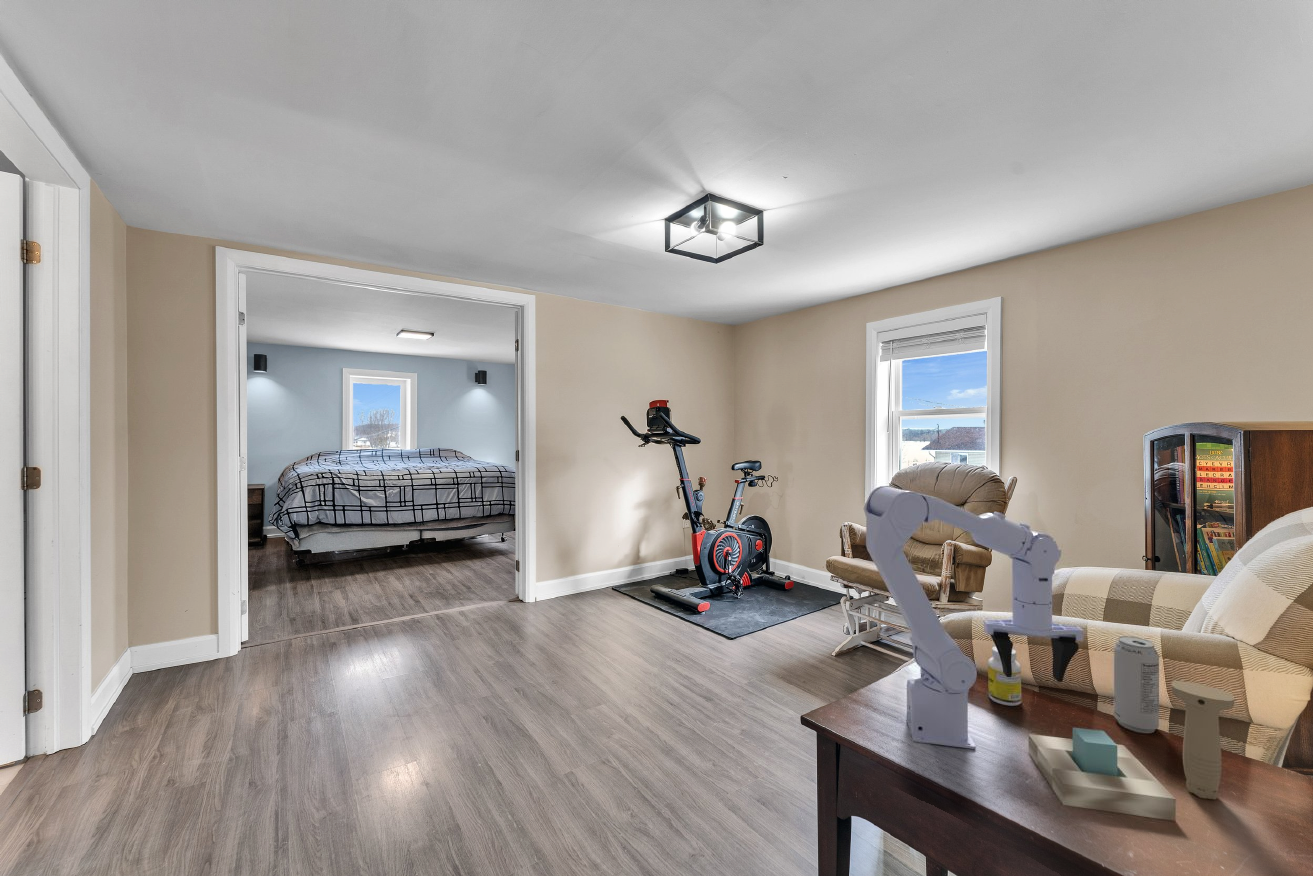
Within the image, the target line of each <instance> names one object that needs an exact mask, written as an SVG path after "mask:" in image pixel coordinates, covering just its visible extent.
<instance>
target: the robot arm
mask: <svg viewBox="0 0 1313 876" xmlns="http://www.w3.org/2000/svg"><path fill="white" fill-rule="evenodd" d="M863 511H864V514H865V517H866V518H865V519H866V521H865V522H866V523H865V524H866V525H865V527H866V528H865V531H866V532H865V546H866V549H867V552H868V553H869V556H870V558H871V559H872V561H873V563H874V565H875V567H876V569H877V571H878V573H879V574H880V577H881V578H882V580H883V582H884V584H885V586H886V588H887V590H888V591H889V594H890V595H891V597H892V600H893V602H894V603H895V604H896V607H897V608H898V611H899V612H900V615H901V616H902V619H903V620H904V623H905V624H906V625H907V628H908V629H909V631H910V633H911V635H910V637H909V641H910V642H911V644H912V651H913V660H914V661H915V663H916V664H917V665H918V666H919V667H920V668H919V669H920V670H919V671H920V674H919V675H920V677H919V678H915V679H914V678H913V679H911V678H910V679H907V681H906V721H907V724H908V728H909V731H910V734H911V737H912V740H913V742H916V743H924V744H932V745H938V746H939V745H940V746H948V747H956V748H965V749H973V750H975V749H976V747H977V746H976V744H975V742H974V740H973V738H972V736H971V734H970V732H969V730H968V729H969V721H968V719H969V717H968V716H969V714H968V713H969V710H968V706H969V705H968V703H969V702H968V698H969V697H968V694H969V692H970V690H969V689H971V688H972V687H973V686H974V684H975V683H976V680H977V673H978V671H977V667H976V665H975V663H974V661H973V660H972V659H971V658H969V657H968V656H966V654H964V653H963V652H962V650H961V648H960V646H959V645H958V644H957V642H956V641H954V639H953V638H952V637H951V636H950V635H949V633H948V632H947V631H946V630H945V628H944V627H943V624H942V622H941V621H940V619H939V617H938V615H937V613H936V611H935V609H934V607H933V605H932V604H931V602H930V599H929V598H928V596H927V594H926V592H925V590H924V589H923V587H922V584H921V583H920V580H919V579H918V576H917V575H916V573H915V572H914V569H913V568H912V565H911V563H910V562H909V559H908V557H907V556H906V554H905V552H904V547H905V545H906V543H907V542H908V541H909V540H910V539H911V537H912V536H913V535H914V534H915V533H916V531H917V530H919V528H920V526H922V525H923V523H926V524H930V523H933V522H934V521H939V522H941V523H944V524H947V525H949V526H953V527H955V528H958V529H961V530H963V531H965V532H968V533H970V535H971V538H972V540H973V541H974V543H976V544H978V545H981V546H982V547H986V548H988V549H991V550H992V551H995V552H998V553H1000V554H1003V555H1005V556H1007V557H1009V558H1010V559H1011V560H1012V565H1011V566H1012V567H1011V571H1012V575H1011V579H1012V584H1011V585H1012V618H1011V619H1009V618H1008V619H983V631H984V632H985V633H986V634H987V635H990V637H991V639H992V641H993V643H994V646H996V648H997V650H998V653H999V656H1000V659H1001V663H1002V667H1003V673H1004V674H1005V675H1006V677H1012V665H1011V656H1012V649H1014V648H1013V647H1014V643H1013V641H1012V640H1011V636H1024V637H1035V638H1036V637H1038V638H1040V637H1041V638H1050V642H1051V650H1052V677H1053V678H1054V679H1055V681H1056V682H1058V683H1063V682H1064V677H1065V674H1066V671H1067V669H1068V666H1069V664H1070V662H1071V661H1072V659H1073V657H1074V656H1075V655H1076V654H1077V652H1078V651H1079V647H1080V646H1079V643H1077V642H1084V630H1083V628H1081V627H1080V626H1079V625H1078V626H1077V625H1069V624H1061V623H1057V622H1053V576H1054V575H1055V567H1056V564H1057V563H1059V561H1060V559H1061V556H1062V550H1061V549H1059V547H1058V544H1057V542H1056V540H1054V538H1053V537H1052V536H1050V535H1048V534H1047V533H1046V534H1045V533H1042V532H1037V531H1034V530H1031V529H1030V528H1031V526H1030V525H1028V524H1025V523H1022V522H1021V523H1019V524H1018V523H1016V522H1013V521H1012V520H1009V519H1006V517H1007V516H1006V514H1003V513H1001V512H997V511H994V512H993V513H991V512H985V513H982V514H979V515H977V514H975V513H972V512H970V511H968V510H965V509H963V508H962V507H959V506H956V505H954V504H952V503H950V502H948V501H945V500H943V499H941V498H938V497H936V496H932V495H927V494H923V493H918V492H915V491H913V490H904V489H900V488H895V487H893V486H891V485H880V486H877V487H876V488H874V489H873V490H872V491H871V492H870V493H869V495H868V497H867V500H866V502H865V504H864V505H863ZM1009 635H1011V636H1009ZM1076 641H1077V642H1076Z"/></svg>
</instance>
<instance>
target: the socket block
mask: <svg viewBox="0 0 1313 876" xmlns="http://www.w3.org/2000/svg"><path fill="white" fill-rule="evenodd" d="M1115 744H1116V745H1117V771H1118V777H1117V776H1110V775H1102V774H1094V773H1086V772H1081V770H1080V769H1079V768H1078V766H1077V765H1076V764H1075V763H1074V761H1073V738H1065V737H1056V736H1048V735H1042V734H1041V735H1040V734H1039V735H1037V734H1030V733H1028V754H1029V755H1030V756H1031V758H1032V759H1033V761H1034V763H1035V764H1036V765H1037V766H1036V767H1038V769H1039V770H1040V772H1041V773H1042V774H1043V776H1044V778H1045V779H1046V781H1047V782H1048V784H1049V785H1050V787H1051V788H1052V790H1053V791H1054V793H1055V794H1056V796H1057V797H1058V799H1059V801H1060V802H1061V804H1063V806H1069V807H1076V808H1083V809H1090V810H1095V811H1096V810H1097V811H1103V812H1109V813H1110V812H1111V813H1117V814H1124V815H1131V816H1139V817H1146V818H1152V819H1157V820H1158V819H1160V820H1167V821H1172V822H1173V821H1174V822H1175V821H1177V819H1176V818H1177V816H1176V814H1177V812H1176V811H1177V810H1176V807H1177V803H1176V800H1177V799H1176V797H1175V796H1174V795H1172V793H1170V791H1169V790H1167V788H1165V787H1164V785H1163V784H1161V782H1160V781H1159V780H1158V779H1157V778H1156V777H1155V776H1154V775H1153V774H1152V773H1151V772H1150V771H1149V770H1148V769H1147V767H1145V765H1143V764H1142V763H1141V761H1139V759H1137V757H1135V755H1133V754H1132V752H1131V751H1130V750H1129V749H1128V748H1127V747H1126V746H1125V745H1124V744H1117V743H1115Z"/></svg>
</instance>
